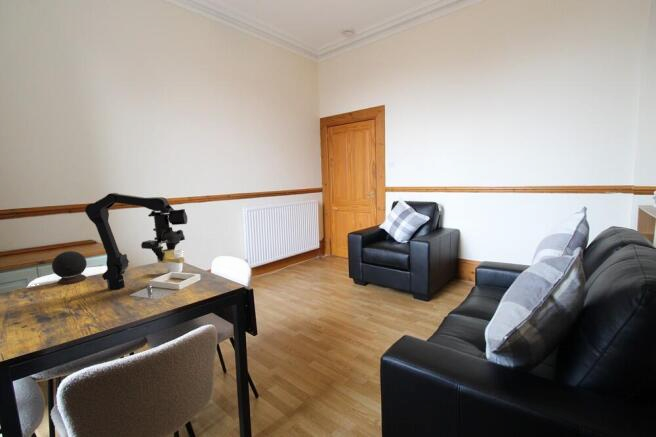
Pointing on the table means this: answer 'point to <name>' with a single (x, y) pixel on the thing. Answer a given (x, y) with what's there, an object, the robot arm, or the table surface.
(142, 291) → the stud plate
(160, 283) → the bin
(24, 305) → the table surface
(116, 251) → the robot arm
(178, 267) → the cup
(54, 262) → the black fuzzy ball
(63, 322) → the table surface
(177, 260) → the strut
